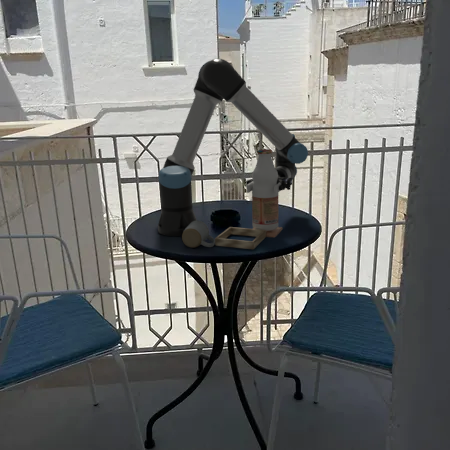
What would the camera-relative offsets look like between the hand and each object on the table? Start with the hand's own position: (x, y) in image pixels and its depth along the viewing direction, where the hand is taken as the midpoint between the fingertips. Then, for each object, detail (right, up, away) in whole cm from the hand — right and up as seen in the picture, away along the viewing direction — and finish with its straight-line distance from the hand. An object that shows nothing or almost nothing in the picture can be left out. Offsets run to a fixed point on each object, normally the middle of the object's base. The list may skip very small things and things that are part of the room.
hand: (261, 189), depth 157 cm
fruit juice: (+2, -13, +8) cm, 16 cm away
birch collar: (-7, -18, 0) cm, 19 cm away
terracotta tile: (+2, -15, +9) cm, 17 cm away
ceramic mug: (-21, -19, -2) cm, 29 cm away
